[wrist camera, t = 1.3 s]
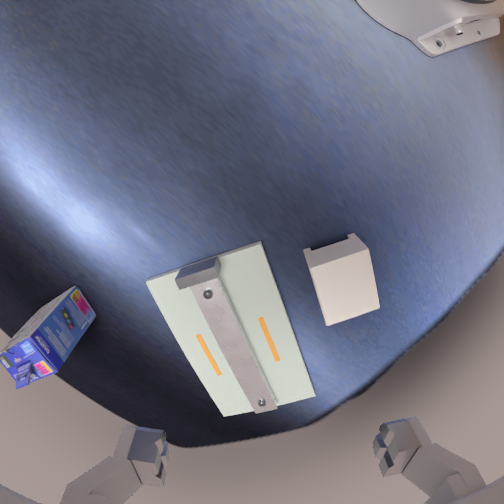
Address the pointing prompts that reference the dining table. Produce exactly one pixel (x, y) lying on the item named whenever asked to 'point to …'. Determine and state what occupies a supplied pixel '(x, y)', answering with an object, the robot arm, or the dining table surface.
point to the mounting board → (253, 322)
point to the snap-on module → (343, 279)
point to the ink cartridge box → (47, 338)
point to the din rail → (227, 330)
